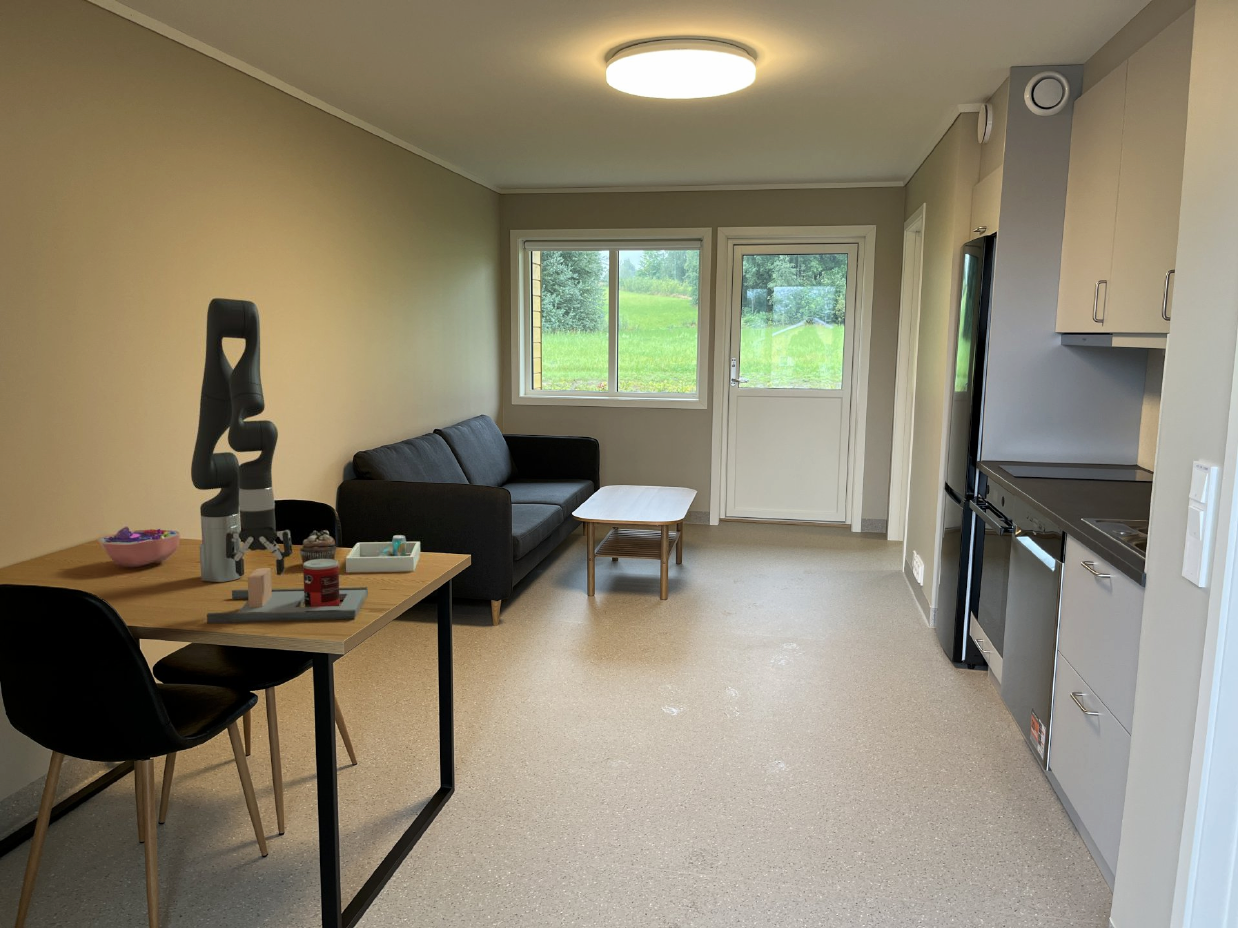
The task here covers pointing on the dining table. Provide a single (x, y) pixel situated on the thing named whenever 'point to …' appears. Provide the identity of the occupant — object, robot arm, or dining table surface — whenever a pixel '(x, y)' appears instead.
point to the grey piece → (290, 597)
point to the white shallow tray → (381, 558)
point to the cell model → (140, 546)
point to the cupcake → (318, 547)
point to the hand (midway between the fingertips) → (260, 574)
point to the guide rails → (280, 612)
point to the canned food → (321, 583)
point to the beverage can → (395, 547)
